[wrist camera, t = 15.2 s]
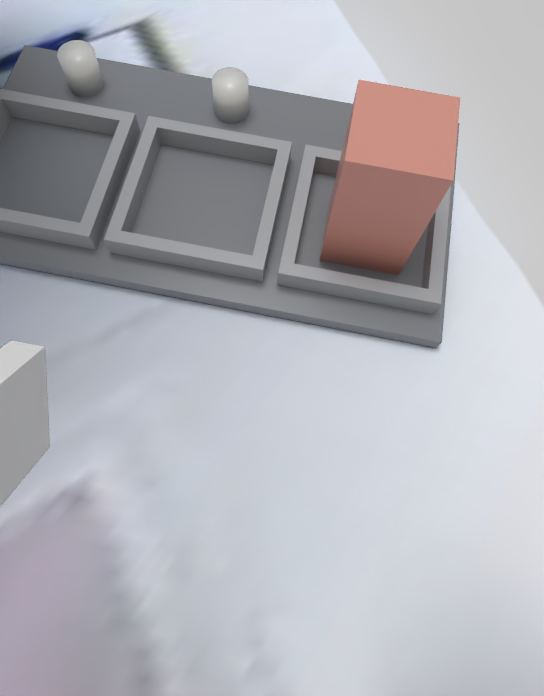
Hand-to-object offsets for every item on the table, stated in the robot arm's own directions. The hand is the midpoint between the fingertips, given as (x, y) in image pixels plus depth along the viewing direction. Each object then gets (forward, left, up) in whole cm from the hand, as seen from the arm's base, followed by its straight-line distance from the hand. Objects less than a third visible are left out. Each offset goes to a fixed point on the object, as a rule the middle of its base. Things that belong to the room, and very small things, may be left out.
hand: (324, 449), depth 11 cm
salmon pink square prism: (+2, +17, -16) cm, 23 cm away
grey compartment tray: (-8, +19, -17) cm, 27 cm away
